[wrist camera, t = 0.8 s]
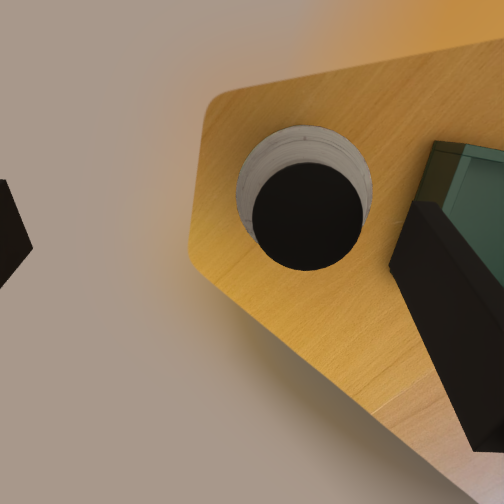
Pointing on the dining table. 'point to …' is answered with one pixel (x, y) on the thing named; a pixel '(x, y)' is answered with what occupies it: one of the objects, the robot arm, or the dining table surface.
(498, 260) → the box
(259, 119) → the dining table surface
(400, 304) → the dining table surface
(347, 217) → the thermos bottle
